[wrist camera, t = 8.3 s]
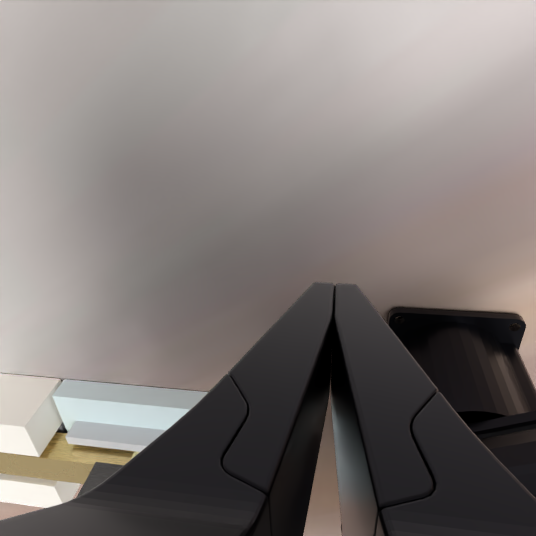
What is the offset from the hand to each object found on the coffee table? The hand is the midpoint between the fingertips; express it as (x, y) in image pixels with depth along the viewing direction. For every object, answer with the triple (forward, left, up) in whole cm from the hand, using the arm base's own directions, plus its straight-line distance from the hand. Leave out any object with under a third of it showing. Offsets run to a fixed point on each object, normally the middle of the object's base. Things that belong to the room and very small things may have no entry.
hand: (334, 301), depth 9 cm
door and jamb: (+13, +21, -12) cm, 27 cm away
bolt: (+18, +21, -10) cm, 29 cm away
